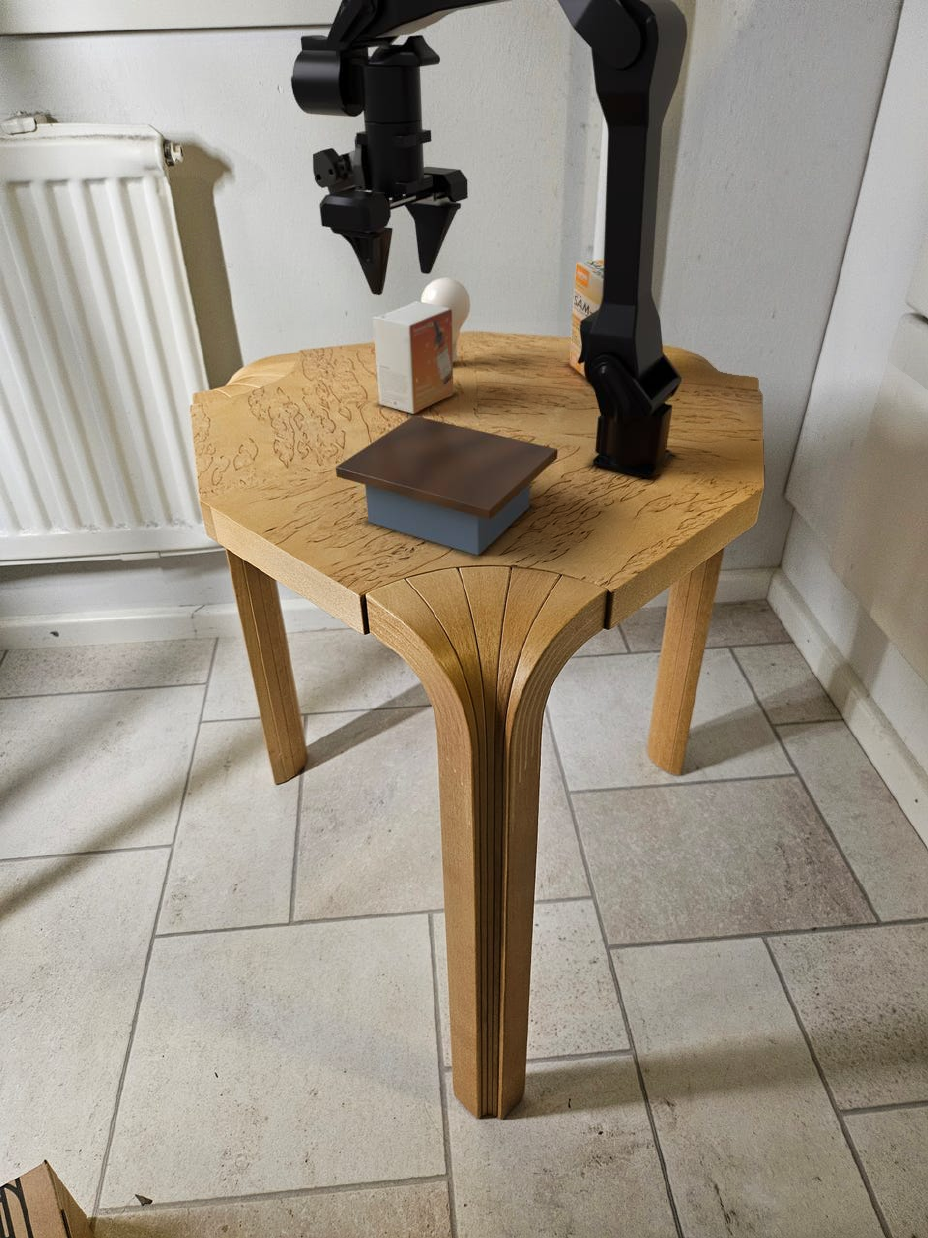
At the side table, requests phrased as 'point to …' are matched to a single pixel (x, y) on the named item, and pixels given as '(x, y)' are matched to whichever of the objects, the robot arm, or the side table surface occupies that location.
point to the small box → (414, 356)
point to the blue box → (441, 519)
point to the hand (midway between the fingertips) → (402, 283)
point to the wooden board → (449, 465)
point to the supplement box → (585, 303)
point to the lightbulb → (449, 303)
